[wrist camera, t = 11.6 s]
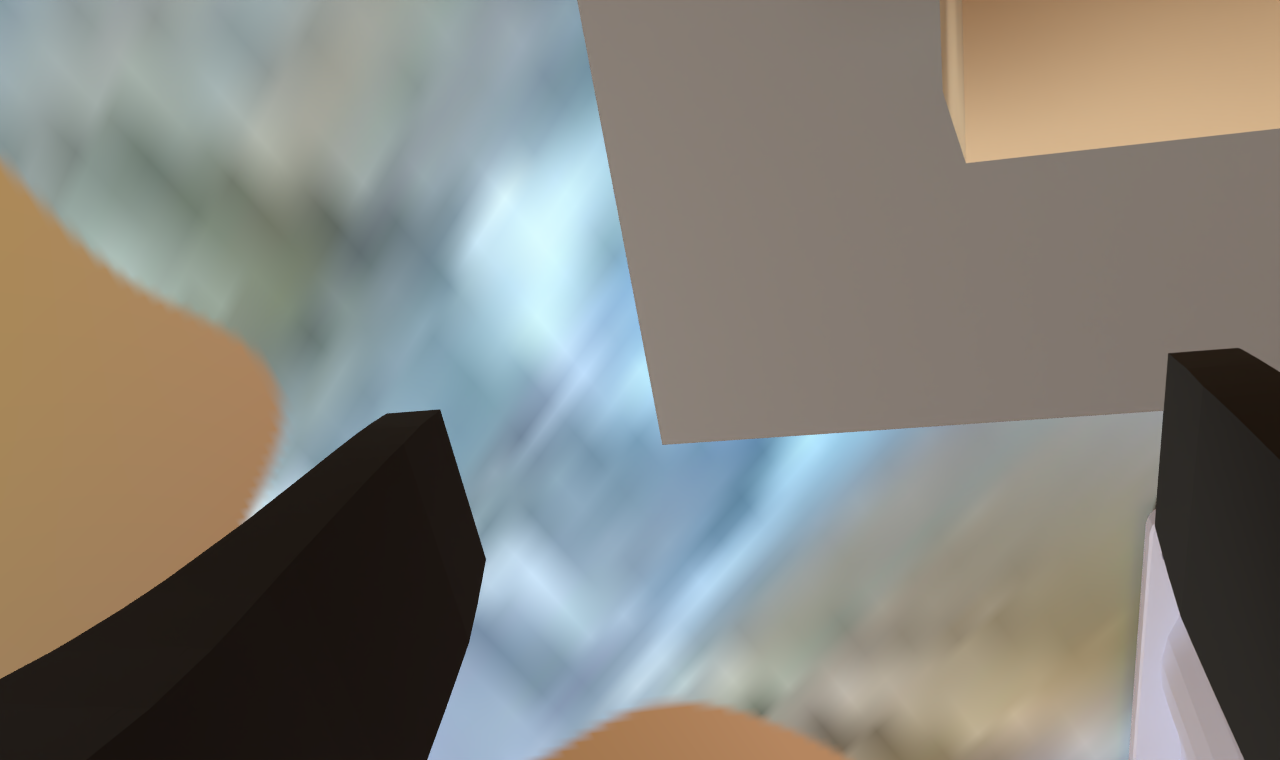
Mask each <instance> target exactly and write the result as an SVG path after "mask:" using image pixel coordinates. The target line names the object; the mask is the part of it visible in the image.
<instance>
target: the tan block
mask: <svg viewBox="0 0 1280 760" xmlns="http://www.w3.org/2000/svg"><path fill="white" fill-rule="evenodd" d="M940 27H941V57H942V87H943V94H944V97H945V100H946V103H947V106H948V109H949V113H950V116H951V119H952V122H953V125H954V128H955V131H956V134H957V137H958V140H959V143H960V146H961V149H962V152H963V156H964V159H965V162H966V163H972V162H981V161H990V160H999V159H1008V158H1017V157H1026V156H1035V155H1044V154H1053V153H1062V152H1071V151H1080V150H1089V149H1098V148H1107V147H1116V146H1125V145H1135V144H1144V143H1153V142H1162V141H1171V140H1180V139H1189V138H1198V137H1207V136H1216V135H1225V134H1234V133H1243V132H1252V131H1261V130H1270V129H1279V128H1280V0H940Z"/></svg>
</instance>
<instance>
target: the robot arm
mask: <svg viewBox="0 0 1280 760" xmlns="http://www.w3.org/2000/svg"><path fill="white" fill-rule="evenodd" d="M485 561H486V558H485V555H484V551H483V548H482V545H481V542H480V538H479V535H478V532H477V529H476V525H475V522H474V519H473V515H472V512H471V509H470V506H469V502H468V499H467V496H466V493H465V489H464V486H463V483H462V480H461V476H460V473H459V470H458V466H457V463H456V460H455V457H454V453H453V450H452V447H451V444H450V440H449V437H448V434H447V431H446V427H445V424H444V421H443V418H442V414H441V411H440V410H428V411H415V412H402V413H389V414H385V415H384V416H382V417H381V418H379V419H377V420H376V421H374V422H373V423H371V424H370V425H368V426H367V427H366V428H364V429H363V430H361V431H360V432H359V433H357V434H356V435H355V436H353V437H352V438H351V439H349V440H348V441H347V442H346V443H344V444H343V445H342V446H340V447H339V448H338V449H337V450H335V451H334V452H333V453H331V454H330V455H329V456H328V457H326V458H325V459H324V460H323V461H321V462H320V463H319V464H318V465H316V466H315V467H314V468H313V469H311V470H310V471H309V472H308V473H306V474H305V475H304V476H303V477H301V478H300V479H299V480H297V481H296V482H295V483H294V484H292V485H291V486H290V487H289V488H287V489H286V490H285V491H284V492H282V493H281V494H280V495H278V496H277V497H276V498H275V499H273V500H272V501H271V502H270V503H268V504H267V505H266V506H265V507H263V508H262V509H261V510H259V511H258V512H257V513H256V514H254V515H253V516H252V517H251V518H249V519H248V520H247V521H245V522H244V523H243V524H241V525H240V526H239V527H237V528H236V529H235V530H233V531H232V532H231V533H229V534H228V535H226V536H225V537H224V538H222V539H221V540H220V541H218V542H217V543H215V544H214V545H213V546H211V547H210V548H209V549H207V550H206V551H205V552H203V553H202V554H201V555H199V556H198V557H196V558H195V559H194V560H192V561H191V562H190V563H188V564H187V565H185V566H184V567H183V568H181V569H180V570H179V571H177V572H176V573H175V574H173V575H172V576H170V577H169V578H168V579H166V580H165V581H163V582H162V583H160V584H159V585H157V586H156V587H154V588H153V589H152V590H150V591H149V592H147V593H146V594H144V595H143V596H141V597H140V598H138V599H136V600H135V601H134V602H132V603H130V604H129V605H128V606H126V607H124V608H123V609H121V610H120V611H118V612H116V613H115V614H113V615H112V616H110V617H108V618H107V619H105V620H103V621H102V622H100V623H98V624H97V625H95V626H94V627H92V628H90V629H89V630H87V631H85V632H84V633H82V634H81V635H79V636H77V637H76V638H74V639H73V640H71V641H69V642H67V643H66V644H64V645H62V646H60V647H59V648H57V649H55V650H53V651H52V652H50V653H48V654H46V655H44V656H42V657H41V658H39V659H37V660H35V661H33V662H32V663H30V664H27V665H26V666H24V667H22V668H20V669H18V670H16V671H14V672H13V673H11V674H9V675H7V676H5V677H3V678H1V679H0V760H427V759H428V756H429V753H430V750H431V748H432V745H433V742H434V740H435V737H436V734H437V731H438V729H439V726H440V723H441V720H442V718H443V715H444V712H445V709H446V707H447V704H448V701H449V698H450V695H451V693H452V690H453V687H454V684H455V681H456V678H457V676H458V673H459V670H460V667H461V664H462V661H463V658H464V655H465V652H466V650H467V647H468V644H469V640H470V636H471V631H472V627H473V622H474V618H475V613H476V609H477V604H478V599H479V593H480V588H481V583H482V577H483V572H484V567H485ZM1129 760H1280V372H1279V371H1277V370H1276V369H1274V368H1273V367H1271V366H1269V365H1268V364H1266V363H1265V362H1263V361H1261V360H1260V359H1258V358H1256V357H1255V356H1253V355H1251V354H1249V353H1248V352H1246V351H1244V350H1242V349H1240V348H1229V349H1216V350H1203V351H1190V352H1177V353H1168V361H1167V374H1166V386H1165V399H1164V412H1163V425H1162V438H1161V450H1160V463H1159V476H1158V489H1157V501H1156V509H1154V510H1153V512H1152V513H1151V514H1150V515H1149V516H1148V519H1147V522H1146V529H1145V543H1144V556H1143V570H1142V584H1141V597H1140V611H1139V625H1138V638H1137V652H1136V666H1135V679H1134V693H1133V707H1132V720H1131V734H1130V748H1129Z"/></svg>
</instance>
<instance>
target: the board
mask: <svg viewBox="0 0 1280 760" xmlns="http://www.w3.org/2000/svg"><path fill="white" fill-rule="evenodd" d="M577 1H578V6H579V11H580V17H581V22H582V27H583V32H584V38H585V43H586V48H587V53H588V58H589V64H590V69H591V74H592V79H593V85H594V90H595V95H596V100H597V105H598V111H599V116H600V121H601V126H602V131H603V137H604V142H605V147H606V152H607V158H608V163H609V168H610V173H611V178H612V184H613V189H614V194H615V199H616V205H617V210H618V215H619V220H620V225H621V231H622V236H623V241H624V246H625V252H626V257H627V262H628V267H629V272H630V278H631V283H632V288H633V293H634V298H635V304H636V309H637V314H638V319H639V325H640V330H641V335H642V340H643V345H644V351H645V356H646V361H647V366H648V372H649V377H650V382H651V387H652V392H653V398H654V403H655V408H656V413H657V419H658V424H659V429H660V434H661V439H662V445H667V444H681V443H696V442H711V441H725V440H740V439H755V438H769V437H784V436H799V435H813V434H828V433H843V432H857V431H872V430H887V429H901V428H916V427H931V426H945V425H960V424H975V423H989V422H1004V421H1019V420H1033V419H1048V418H1063V417H1077V416H1092V415H1107V414H1121V413H1136V412H1151V411H1164V399H1165V386H1166V374H1167V361H1168V353H1177V352H1190V351H1203V350H1216V349H1229V348H1240V349H1242V350H1244V351H1246V352H1248V353H1249V354H1251V355H1253V356H1255V357H1256V358H1258V359H1260V360H1261V361H1263V362H1265V363H1266V364H1268V365H1269V366H1271V367H1273V368H1274V369H1276V370H1277V371H1279V372H1280V128H1279V129H1270V130H1261V131H1252V132H1243V133H1234V134H1225V135H1216V136H1207V137H1198V138H1189V139H1180V140H1171V141H1162V142H1153V143H1144V144H1135V145H1125V146H1116V147H1107V148H1098V149H1089V150H1080V151H1071V152H1062V153H1053V154H1044V155H1035V156H1026V157H1017V158H1008V159H999V160H990V161H981V162H972V163H966V162H965V159H964V156H963V152H962V149H961V146H960V143H959V140H958V137H957V134H956V131H955V128H954V125H953V122H952V119H951V116H950V113H949V109H948V106H947V103H946V100H945V97H944V94H943V87H942V57H941V27H940V0H577Z"/></svg>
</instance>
